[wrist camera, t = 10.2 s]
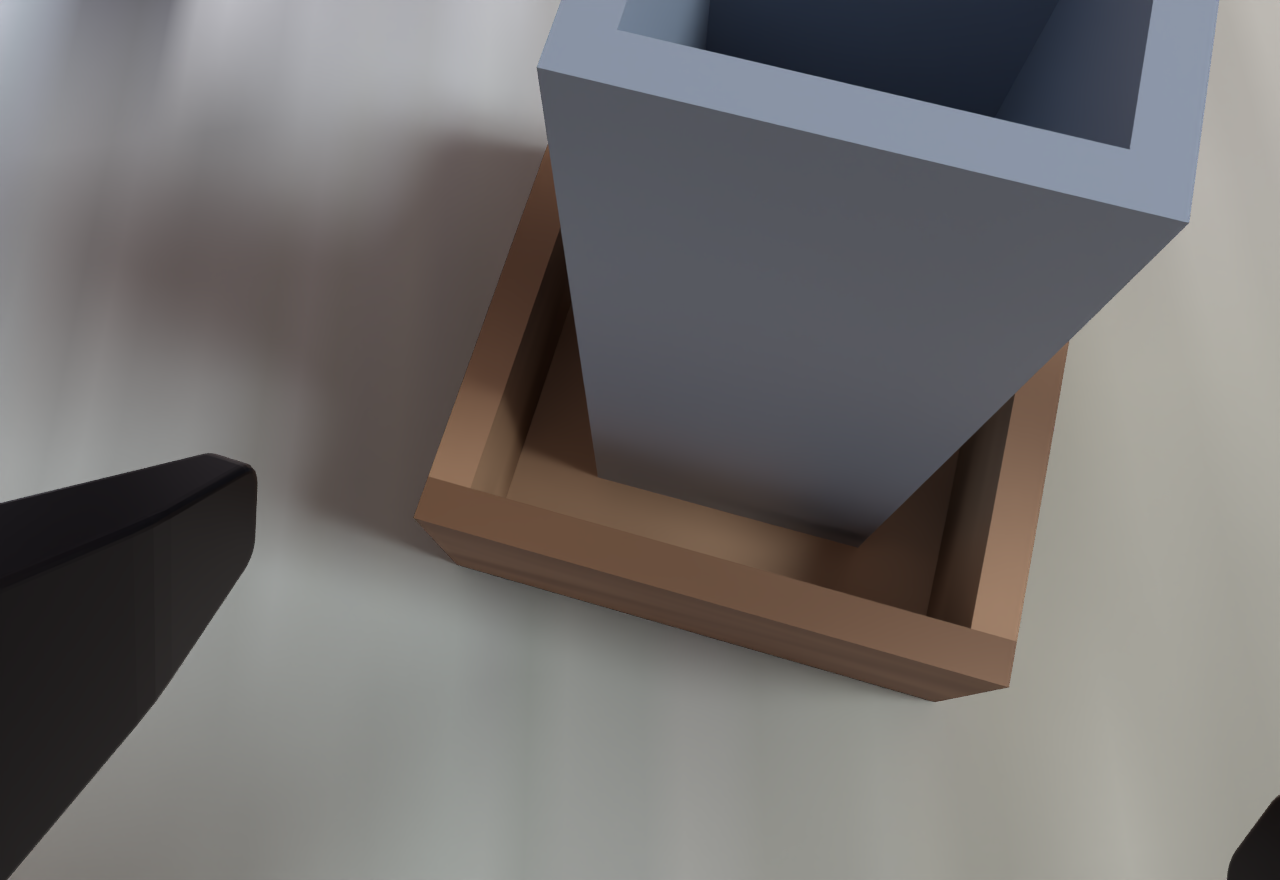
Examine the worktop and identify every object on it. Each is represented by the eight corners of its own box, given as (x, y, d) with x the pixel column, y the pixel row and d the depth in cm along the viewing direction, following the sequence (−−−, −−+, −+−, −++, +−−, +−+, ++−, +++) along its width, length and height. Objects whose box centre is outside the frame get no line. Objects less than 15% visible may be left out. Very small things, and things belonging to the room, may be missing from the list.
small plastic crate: (857, 547, 19) (1189, 222, 8) (598, 477, 19) (536, 66, 8) (909, 308, 20) (1256, -270, 9) (667, 247, 21) (700, -381, 9)
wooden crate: (935, 701, 19) (1008, 687, 15) (457, 564, 20) (413, 517, 16) (1020, 262, 22) (1100, 157, 18) (595, 157, 23) (586, 34, 19)
